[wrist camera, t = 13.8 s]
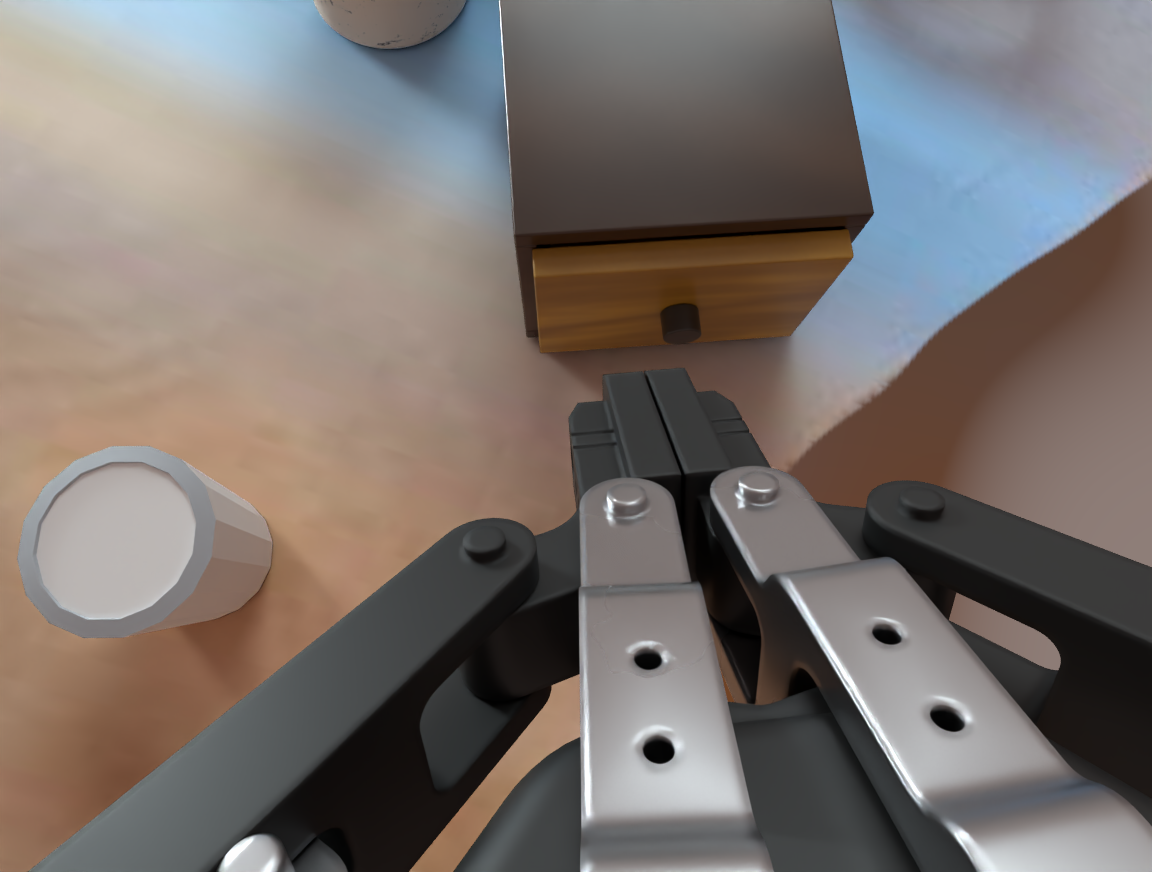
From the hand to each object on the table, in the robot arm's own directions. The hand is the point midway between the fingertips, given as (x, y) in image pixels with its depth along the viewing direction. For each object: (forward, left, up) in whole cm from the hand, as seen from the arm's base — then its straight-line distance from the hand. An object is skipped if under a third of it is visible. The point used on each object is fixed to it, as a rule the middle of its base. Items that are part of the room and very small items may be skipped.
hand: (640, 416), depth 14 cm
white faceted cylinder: (-13, +11, -20) cm, 26 cm away
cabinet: (+14, +11, -20) cm, 27 cm away
